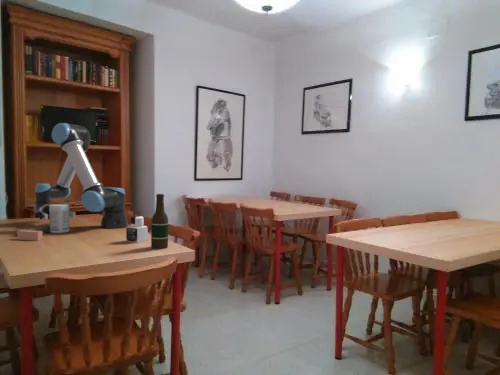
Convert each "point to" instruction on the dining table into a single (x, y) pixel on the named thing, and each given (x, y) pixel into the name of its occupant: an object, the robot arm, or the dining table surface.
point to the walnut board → (37, 228)
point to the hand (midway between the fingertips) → (61, 215)
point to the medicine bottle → (137, 230)
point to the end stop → (29, 235)
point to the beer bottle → (159, 225)
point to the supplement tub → (59, 218)
